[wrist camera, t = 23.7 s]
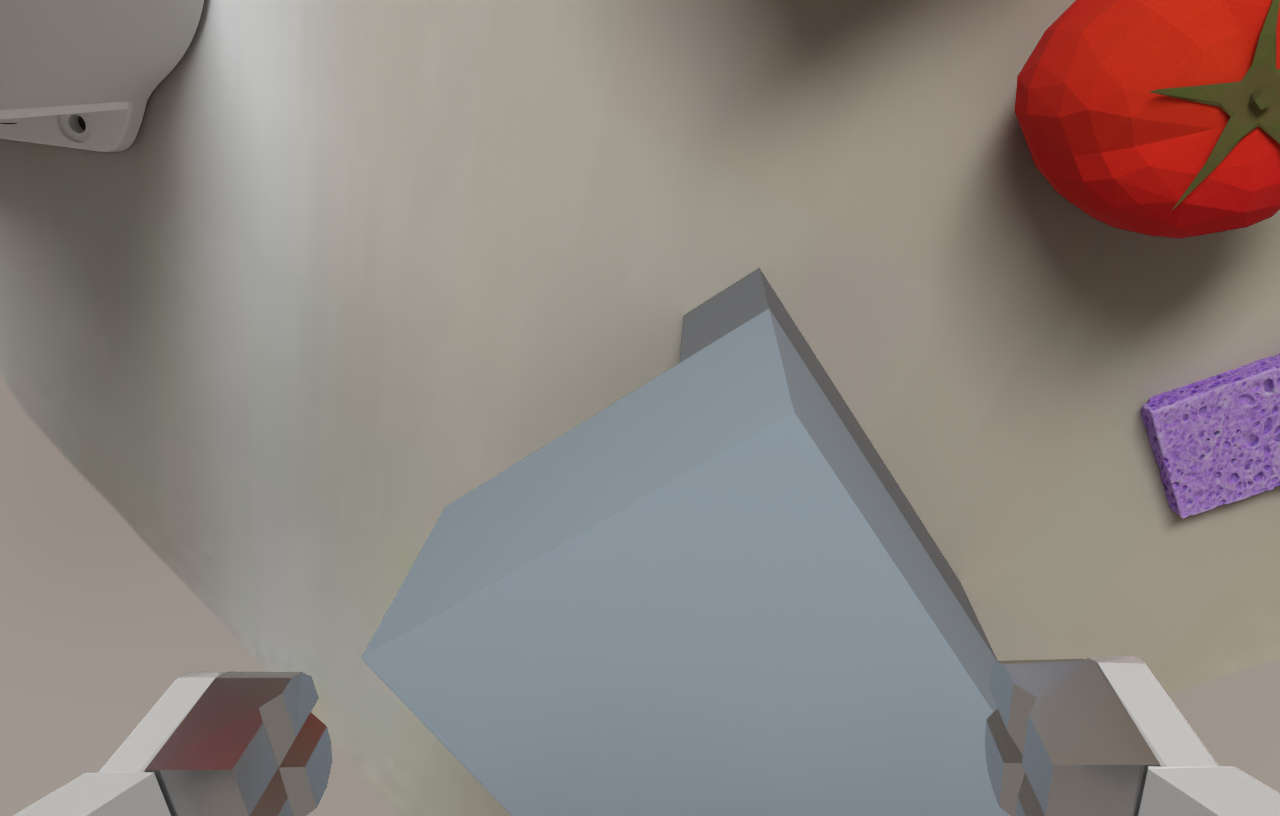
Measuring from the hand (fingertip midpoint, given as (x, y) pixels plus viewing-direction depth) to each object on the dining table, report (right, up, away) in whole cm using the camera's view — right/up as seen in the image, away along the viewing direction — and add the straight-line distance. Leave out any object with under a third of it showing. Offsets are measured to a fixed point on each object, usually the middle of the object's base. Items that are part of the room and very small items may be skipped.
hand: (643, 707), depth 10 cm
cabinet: (+5, -2, +38) cm, 38 cm away
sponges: (+33, +4, +34) cm, 47 cm away
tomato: (+22, +18, +28) cm, 40 cm away
